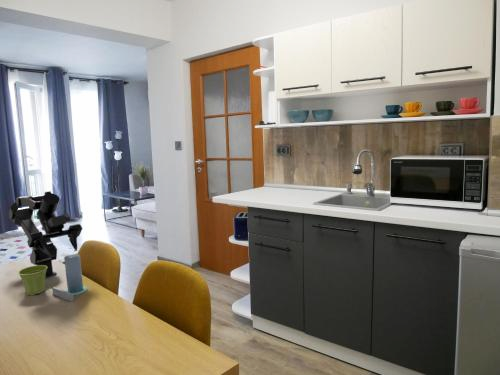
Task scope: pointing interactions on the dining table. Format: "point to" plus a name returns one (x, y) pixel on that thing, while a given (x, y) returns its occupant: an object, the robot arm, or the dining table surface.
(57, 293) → the acrylic wall
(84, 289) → the coaster
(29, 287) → the plant pot
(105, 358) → the dining table surface
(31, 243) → the robot arm
